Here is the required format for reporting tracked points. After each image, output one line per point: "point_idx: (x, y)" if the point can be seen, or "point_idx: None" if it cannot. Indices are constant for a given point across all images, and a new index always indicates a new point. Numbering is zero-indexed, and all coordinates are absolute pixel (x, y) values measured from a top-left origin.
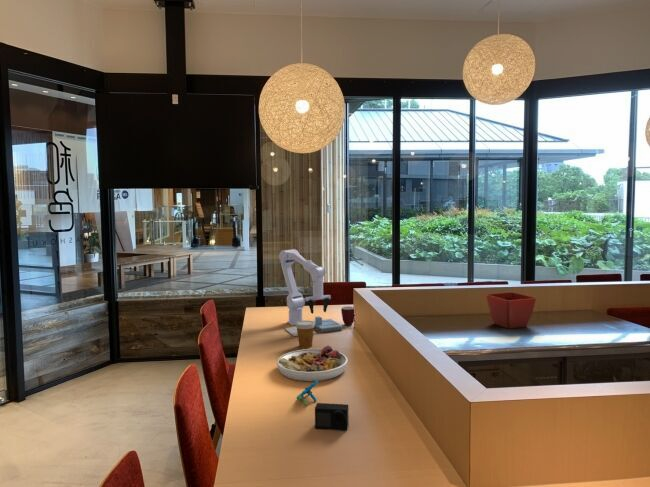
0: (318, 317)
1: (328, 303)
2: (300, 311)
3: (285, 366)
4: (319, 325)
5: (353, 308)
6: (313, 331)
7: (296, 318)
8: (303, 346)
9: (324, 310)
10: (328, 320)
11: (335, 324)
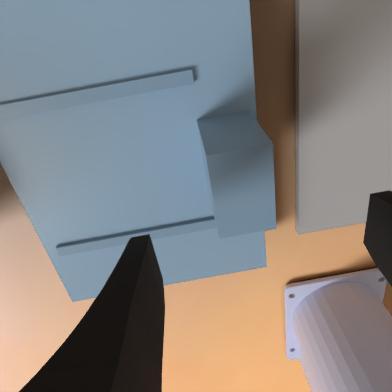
0: (246, 190)
1: (25, 386)
2: (365, 383)
3: None
4: (232, 104)
5: None
6: (313, 21)
7: (375, 319)
8: None
9: (153, 268)
10: (98, 263)
11: (25, 96)
